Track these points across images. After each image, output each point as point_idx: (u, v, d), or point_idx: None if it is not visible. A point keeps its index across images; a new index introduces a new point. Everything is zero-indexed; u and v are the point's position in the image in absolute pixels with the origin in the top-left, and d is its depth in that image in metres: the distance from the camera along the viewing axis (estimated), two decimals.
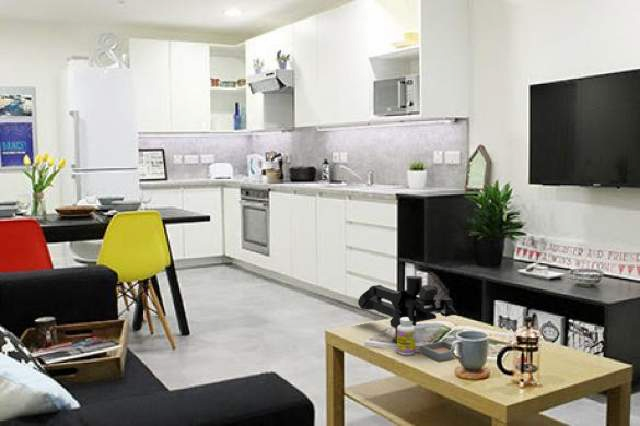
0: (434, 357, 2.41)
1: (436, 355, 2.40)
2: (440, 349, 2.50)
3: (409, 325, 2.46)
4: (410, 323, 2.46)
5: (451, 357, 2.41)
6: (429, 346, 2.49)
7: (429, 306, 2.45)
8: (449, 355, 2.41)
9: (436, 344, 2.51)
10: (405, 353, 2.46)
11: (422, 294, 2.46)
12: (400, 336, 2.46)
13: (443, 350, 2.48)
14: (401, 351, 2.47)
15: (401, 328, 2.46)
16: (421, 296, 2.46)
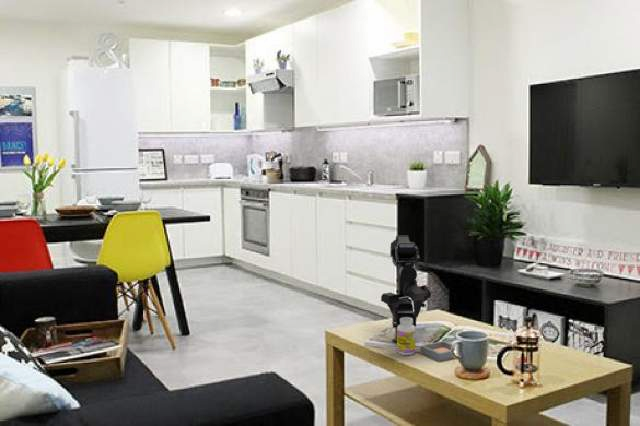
0: (434, 357, 2.41)
1: (436, 355, 2.40)
2: (440, 349, 2.50)
3: (409, 325, 2.47)
4: (410, 323, 2.46)
5: (451, 357, 2.41)
6: (429, 346, 2.49)
7: None
8: (449, 355, 2.41)
9: (436, 344, 2.51)
10: (405, 353, 2.46)
11: (410, 294, 2.41)
12: (400, 336, 2.46)
13: (443, 350, 2.48)
14: (401, 350, 2.47)
15: (401, 328, 2.46)
16: (408, 292, 2.42)
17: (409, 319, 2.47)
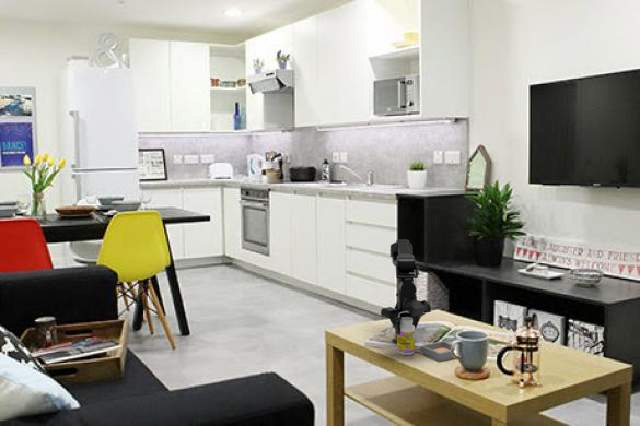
0: (434, 357, 2.41)
1: (436, 355, 2.40)
2: (440, 349, 2.50)
3: (409, 325, 2.46)
4: (410, 323, 2.46)
5: (451, 357, 2.41)
6: (429, 346, 2.49)
7: None
8: (449, 355, 2.41)
9: (436, 344, 2.51)
10: (405, 353, 2.46)
11: (409, 309, 2.42)
12: (400, 336, 2.46)
13: (443, 350, 2.48)
14: (401, 350, 2.47)
15: (401, 328, 2.46)
16: (408, 307, 2.42)
17: (409, 319, 2.47)
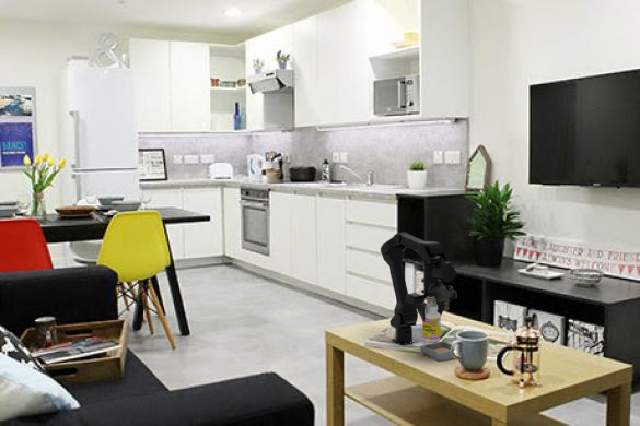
0: (434, 357, 2.41)
1: (436, 355, 2.40)
2: (440, 349, 2.50)
3: (435, 311, 2.43)
4: (435, 309, 2.43)
5: (451, 357, 2.41)
6: (429, 346, 2.49)
7: None
8: (449, 355, 2.41)
9: (436, 344, 2.51)
10: (430, 340, 2.43)
11: (435, 295, 2.38)
12: (425, 323, 2.43)
13: (443, 350, 2.48)
14: (426, 337, 2.44)
15: (426, 314, 2.43)
16: (433, 293, 2.39)
17: (434, 305, 2.44)
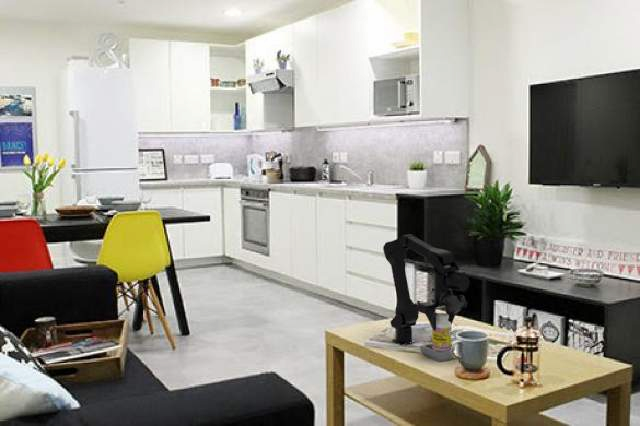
0: (434, 357, 2.41)
1: (436, 355, 2.40)
2: None
3: (445, 321, 2.43)
4: (446, 319, 2.43)
5: (451, 357, 2.41)
6: (429, 346, 2.49)
7: None
8: (449, 355, 2.41)
9: None
10: (441, 349, 2.43)
11: (446, 304, 2.38)
12: (436, 332, 2.43)
13: None
14: (437, 347, 2.43)
15: (437, 323, 2.43)
16: (445, 302, 2.39)
17: (445, 315, 2.44)
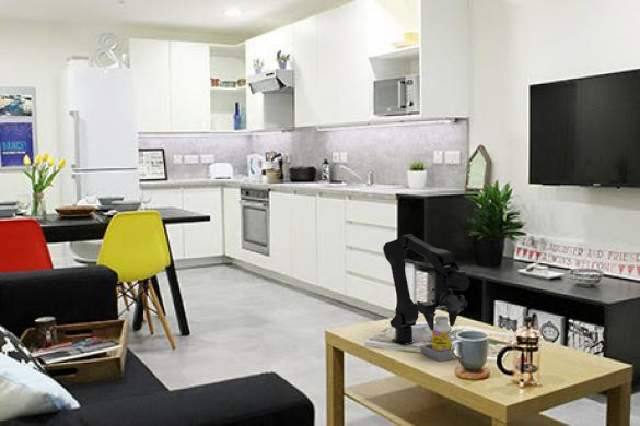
0: (434, 357, 2.41)
1: (436, 355, 2.40)
2: None
3: (445, 324, 2.43)
4: (446, 322, 2.43)
5: (451, 357, 2.41)
6: (429, 346, 2.49)
7: None
8: (449, 355, 2.41)
9: None
10: None
11: (446, 304, 2.38)
12: (436, 336, 2.43)
13: None
14: (437, 350, 2.43)
15: (437, 327, 2.43)
16: (445, 302, 2.39)
17: (445, 318, 2.44)
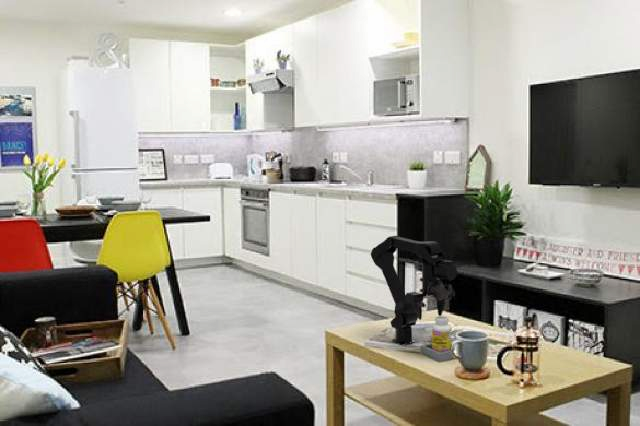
0: (434, 357, 2.41)
1: (436, 355, 2.40)
2: None
3: (445, 324, 2.43)
4: (446, 322, 2.43)
5: (451, 357, 2.41)
6: (429, 346, 2.49)
7: None
8: (449, 355, 2.41)
9: None
10: None
11: (434, 293, 2.44)
12: (436, 336, 2.43)
13: None
14: (437, 350, 2.43)
15: (437, 327, 2.43)
16: (432, 291, 2.44)
17: (445, 318, 2.44)
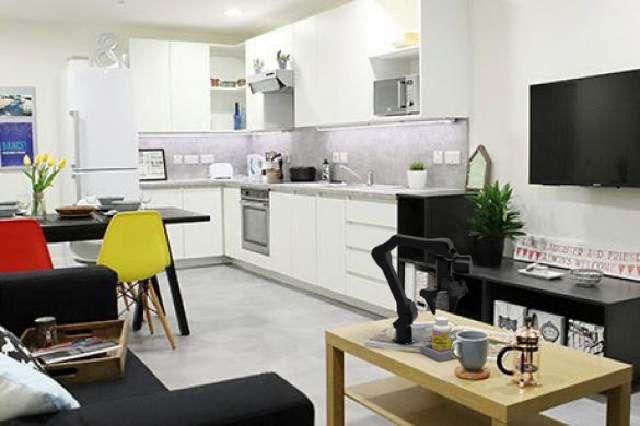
0: (434, 357, 2.41)
1: (436, 355, 2.40)
2: None
3: (445, 324, 2.43)
4: (446, 322, 2.43)
5: (451, 357, 2.41)
6: (429, 346, 2.49)
7: None
8: (449, 355, 2.41)
9: None
10: None
11: (448, 289, 2.47)
12: (436, 336, 2.43)
13: None
14: (437, 350, 2.43)
15: (437, 327, 2.43)
16: (446, 287, 2.47)
17: (445, 318, 2.44)
